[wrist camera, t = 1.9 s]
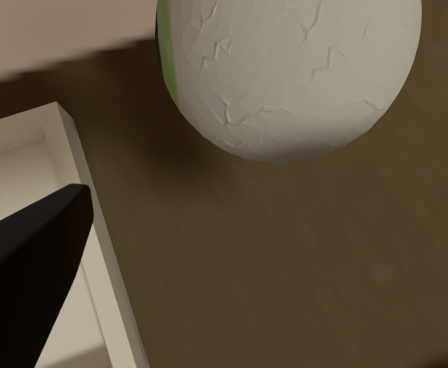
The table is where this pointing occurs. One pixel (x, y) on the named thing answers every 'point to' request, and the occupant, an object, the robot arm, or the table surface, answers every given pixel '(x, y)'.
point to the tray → (93, 253)
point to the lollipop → (285, 70)
